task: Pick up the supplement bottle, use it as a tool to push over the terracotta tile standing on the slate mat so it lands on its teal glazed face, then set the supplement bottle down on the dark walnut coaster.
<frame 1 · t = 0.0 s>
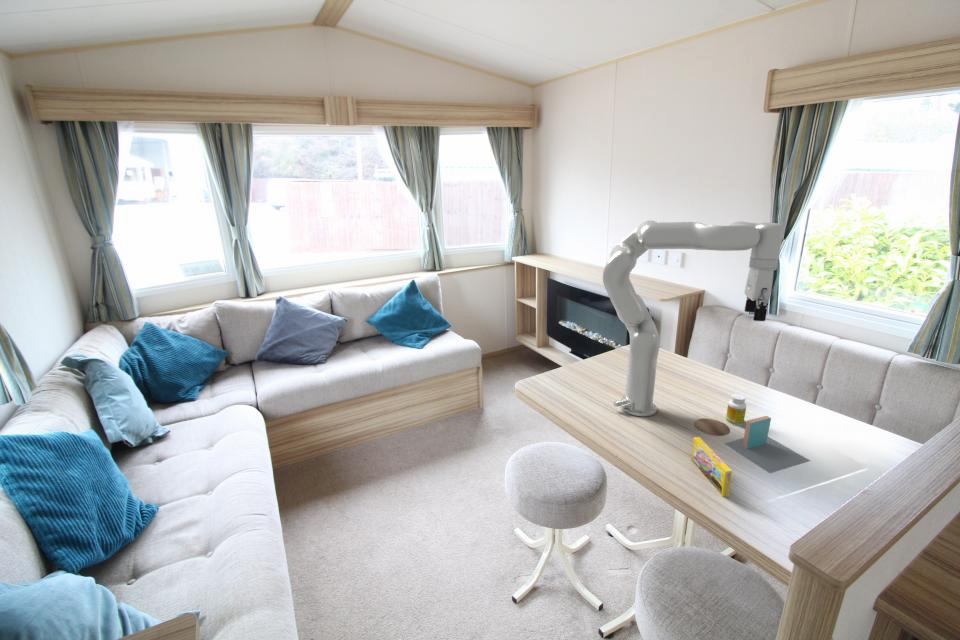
hand: (754, 316, 148), 37 cm above the table, tool pointing down, fingers open, 9 cm apart
terracotta tile: (754, 444, 143), resting on slate mat
slate mat: (765, 452, 140), on the table
supplement bottle: (734, 422, 157), on the table
candy box: (708, 478, 129), on the table
walnut coaster: (711, 427, 154), on the table
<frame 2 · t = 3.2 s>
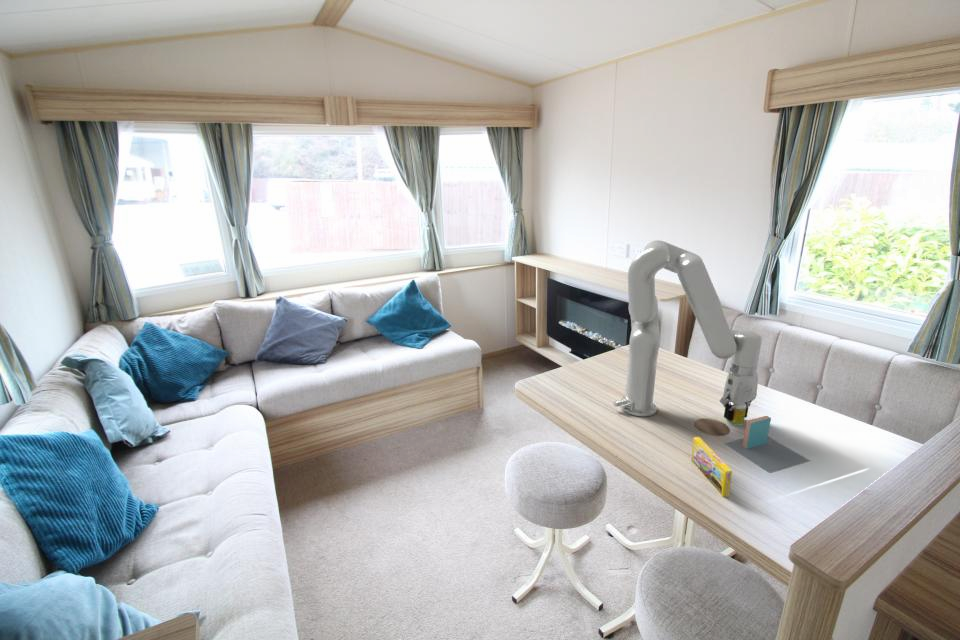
hand: (735, 416, 156), 2 cm above the table, tool pointing down, fingers closed on supplement bottle, 5 cm apart
supplement bottle: (734, 422, 157), on the table, touching gripper
everything else where it was.
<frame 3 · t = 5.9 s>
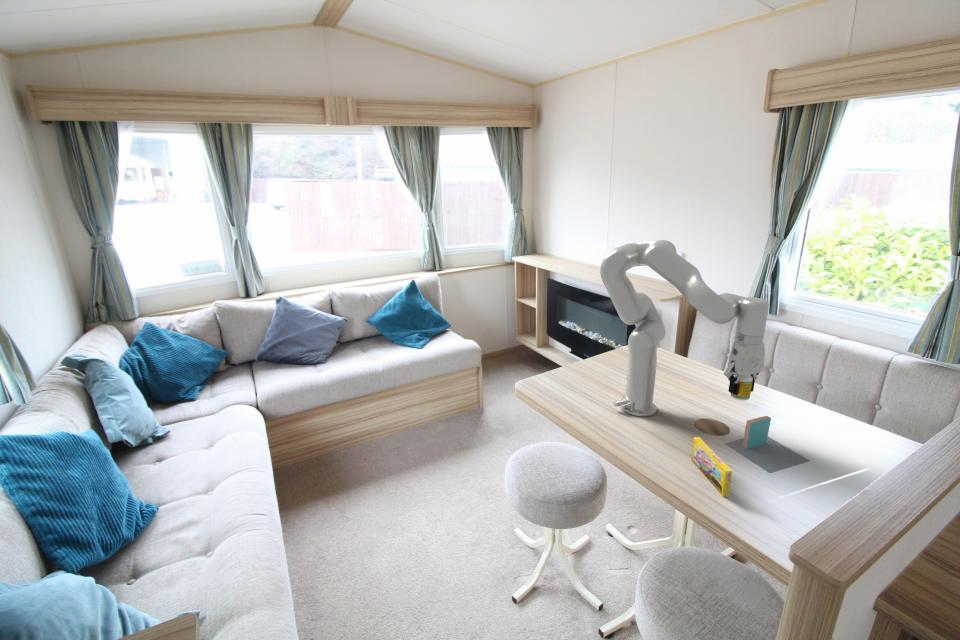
hand: (740, 391, 146), 15 cm above the table, tool pointing down, fingers closed on supplement bottle, 5 cm apart
supplement bottle: (739, 397, 146), point 13 cm above the table, touching gripper
everything else where it was.
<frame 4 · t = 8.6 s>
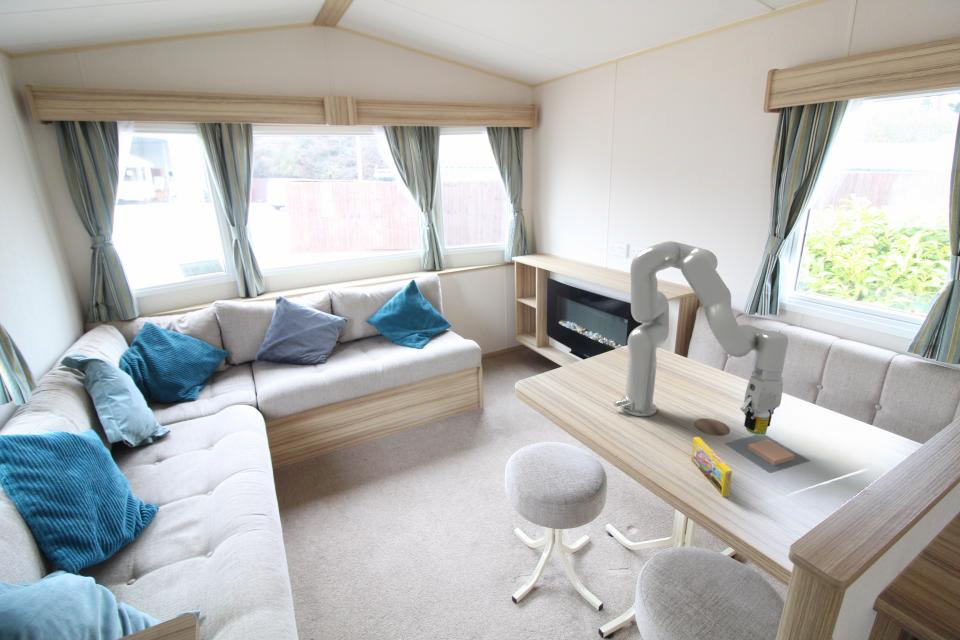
hand: (756, 425, 141), 7 cm above the table, tool pointing down, fingers closed on supplement bottle, 5 cm apart
terracotta tile: (757, 444, 142), point 1 cm above the table, tilted 90°, touching slate mat
supplement bottle: (755, 432, 142), point 5 cm above the table, touching gripper
everything else where it was.
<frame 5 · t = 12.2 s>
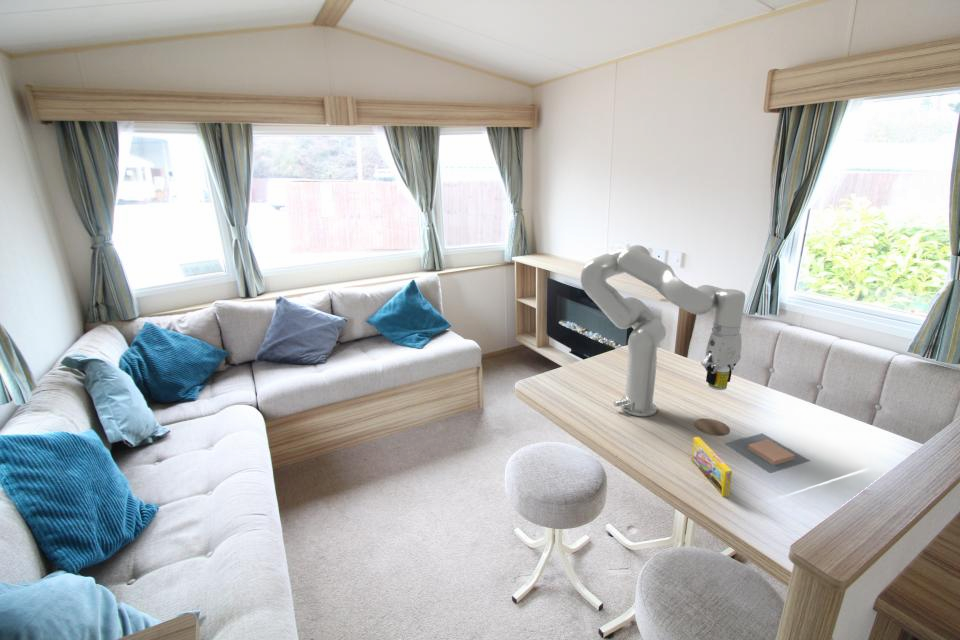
hand: (717, 381, 148), 17 cm above the table, tool pointing down, fingers closed on supplement bottle, 5 cm apart
supplement bottle: (717, 387, 149), point 15 cm above the table, touching gripper
everything else where it was.
when the fingers open (3 cm above the table, at t = 15.1 s): supplement bottle stays where it is, resting on walnut coaster.
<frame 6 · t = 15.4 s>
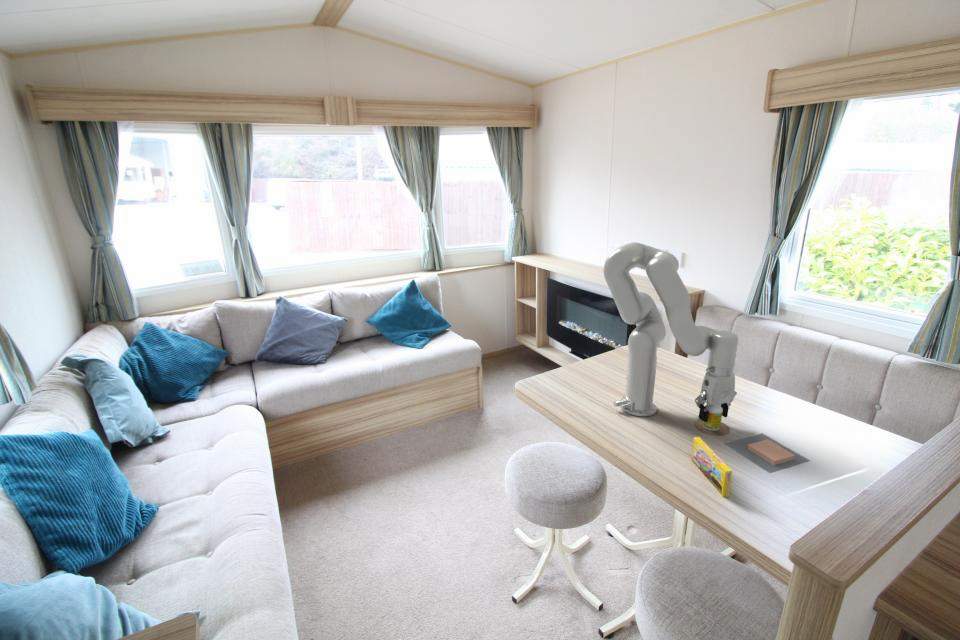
hand: (712, 417, 152), 4 cm above the table, tool pointing down, fingers open, 7 cm apart
supplement bottle: (710, 427, 154), resting on walnut coaster
everything else where it was.
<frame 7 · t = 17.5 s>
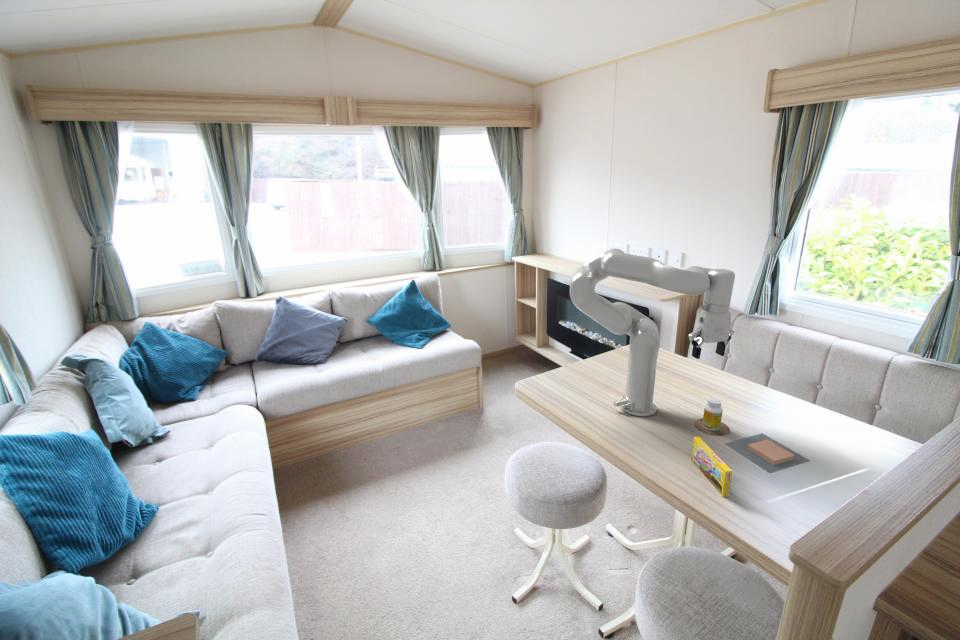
hand: (707, 356, 154), 23 cm above the table, tool pointing down, fingers open, 9 cm apart
nothing on the table moved.
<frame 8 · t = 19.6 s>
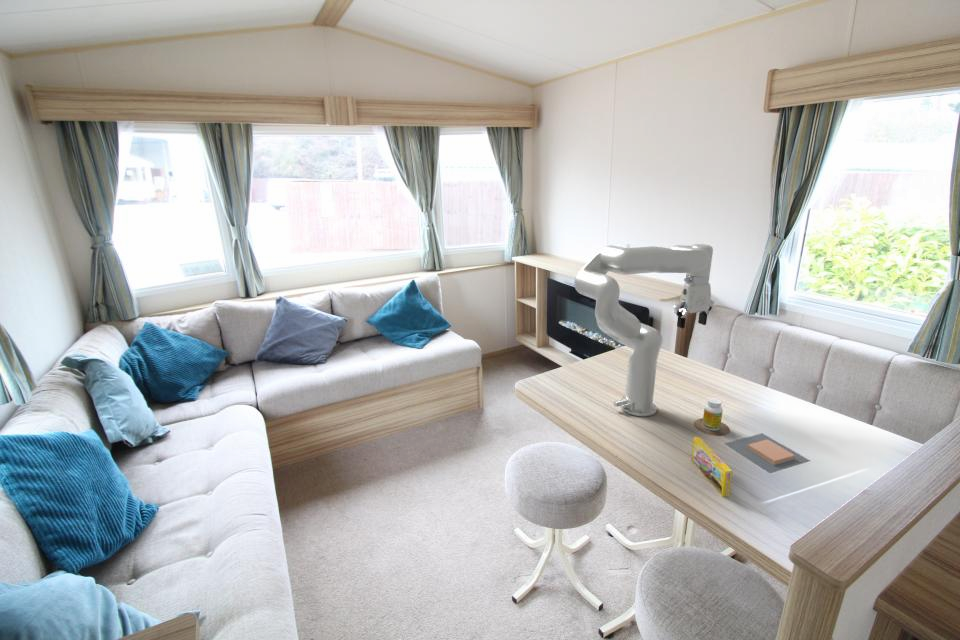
hand: (691, 325, 167), 28 cm above the table, tool pointing down, fingers open, 9 cm apart
nothing on the table moved.
at the end: terracotta tile tilted 90°; supplement bottle 0.2 cm from the walnut coaster (horizontally); supplement bottle tilted 0° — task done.
